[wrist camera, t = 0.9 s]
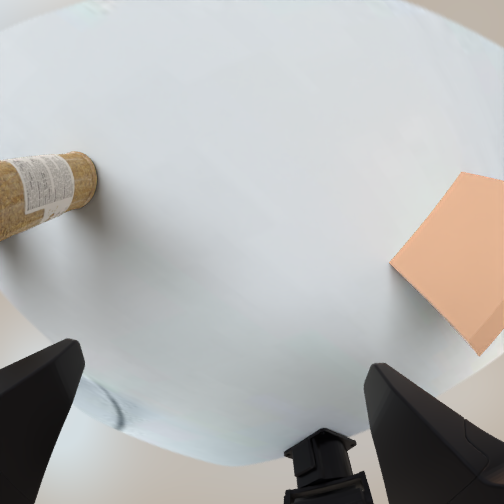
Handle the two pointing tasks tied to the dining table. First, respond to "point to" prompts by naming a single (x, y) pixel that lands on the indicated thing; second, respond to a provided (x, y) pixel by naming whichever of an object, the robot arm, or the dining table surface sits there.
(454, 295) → the tile
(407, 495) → the robot arm
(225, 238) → the dining table surface
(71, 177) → the sprinkles bottle
